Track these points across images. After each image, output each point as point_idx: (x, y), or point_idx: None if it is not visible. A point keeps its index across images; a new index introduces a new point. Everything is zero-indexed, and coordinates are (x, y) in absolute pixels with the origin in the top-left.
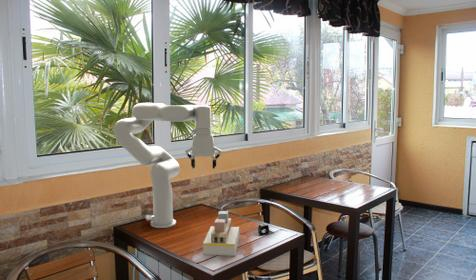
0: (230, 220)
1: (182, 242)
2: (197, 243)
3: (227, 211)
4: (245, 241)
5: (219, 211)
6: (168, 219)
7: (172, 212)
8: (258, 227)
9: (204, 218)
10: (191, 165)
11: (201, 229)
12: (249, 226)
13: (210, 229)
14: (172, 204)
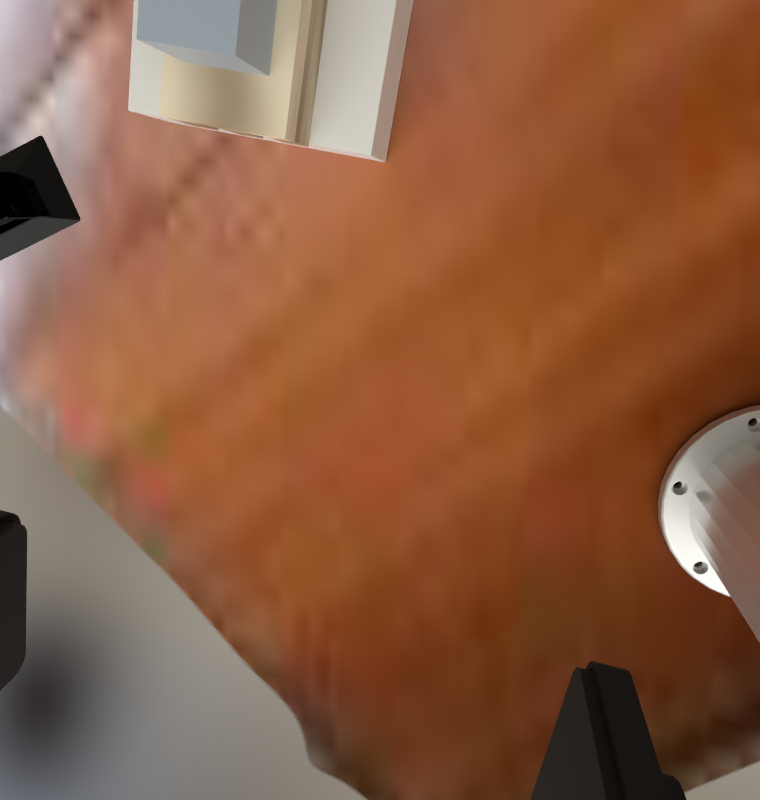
0: (166, 66)
1: (628, 47)
2: (501, 13)
3: (143, 25)
4: (127, 33)
5: (233, 33)
6: (748, 463)
7: (721, 533)
8: (11, 214)
9: (425, 575)
10: (670, 780)
11: (456, 339)
12: (102, 355)
13: (376, 60)
14: (746, 586)
